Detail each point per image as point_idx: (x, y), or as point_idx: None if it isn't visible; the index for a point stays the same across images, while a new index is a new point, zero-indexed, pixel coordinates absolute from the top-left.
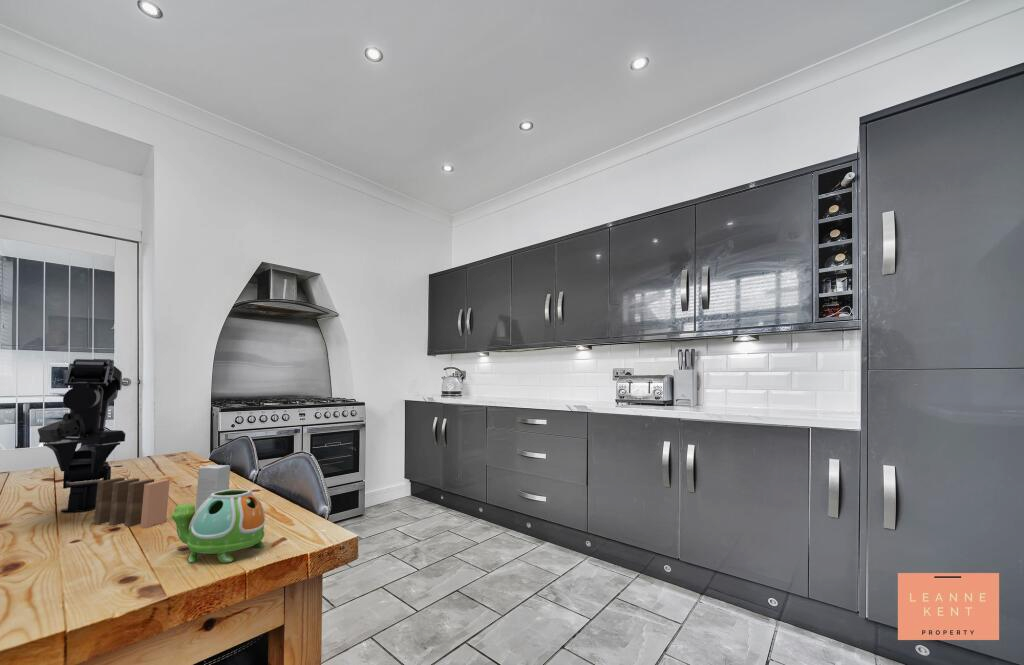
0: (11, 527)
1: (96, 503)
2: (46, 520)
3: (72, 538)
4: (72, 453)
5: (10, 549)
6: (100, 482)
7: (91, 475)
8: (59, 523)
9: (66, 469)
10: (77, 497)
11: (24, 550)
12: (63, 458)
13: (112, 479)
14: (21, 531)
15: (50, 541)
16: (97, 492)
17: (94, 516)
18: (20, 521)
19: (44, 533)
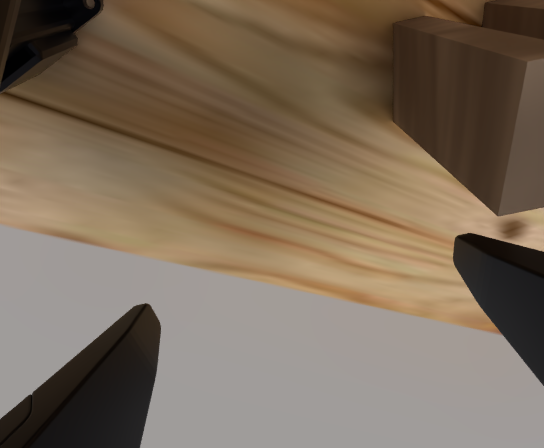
0: (141, 250)
1: (434, 154)
2: (134, 168)
3: (478, 223)
4: (66, 428)
5: (401, 310)
6: (517, 211)
7: (10, 39)
8: (240, 167)
9: (147, 311)
10: (41, 62)
11: (445, 301)
12: (126, 428)
13: (533, 135)
14: (234, 253)
15: (438, 255)
16: (462, 181)
17: (406, 133)
18: (59, 212)
19: (334, 234)
